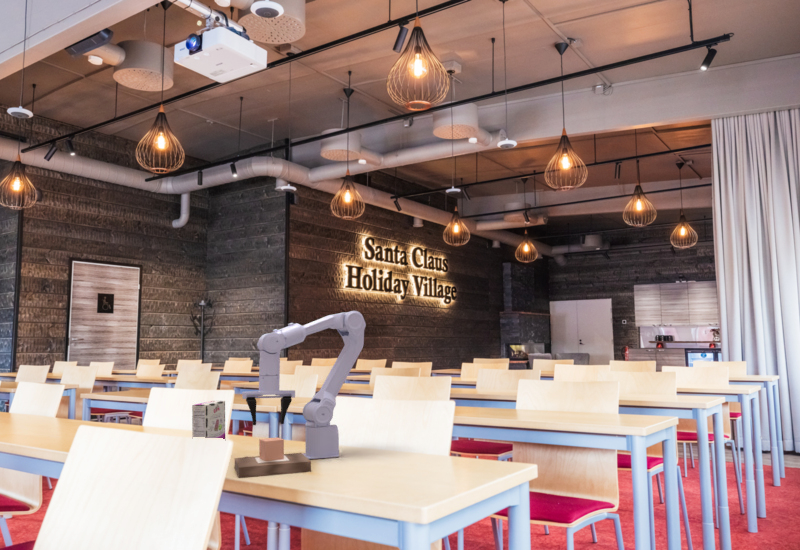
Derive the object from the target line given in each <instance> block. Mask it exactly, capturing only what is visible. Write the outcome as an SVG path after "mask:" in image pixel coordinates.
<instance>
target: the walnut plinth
mask: <svg viewBox="0 0 800 550" xmlns="http://www.w3.org/2000/svg"><path fill="white" fill-rule="evenodd" d="M234 470H235V473H236V474H237V477H238V479H241V478H252V477H262V476H273V475H275V476H276V475H284V474H285V475H286V474H293V473H294V474H296V473H306V472H307V473H308V472H311V471H312V461H311V459H308V458H307V457H305V456H304V455H303V452H293V453H284V459H280V460H272V461H264V460H262V459H260V458H259V455H256V456H246V457H235V458H234Z"/></svg>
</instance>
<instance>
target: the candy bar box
mask: <svg viewBox="0 0 800 550" xmlns="http://www.w3.org/2000/svg"><path fill="white" fill-rule="evenodd" d="M191 408H192V411H191V412H192V416H191V417H192V419H191V420H192V424H191V425H192V438H193V437H205V438H223V439H225V440H226V400H210V401H205V402H201V403H195V404H192V407H191Z"/></svg>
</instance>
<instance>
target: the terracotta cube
mask: <svg viewBox="0 0 800 550" xmlns="http://www.w3.org/2000/svg"><path fill="white" fill-rule="evenodd" d="M284 443H285V440H284V439H283V438H281V437H269V438H260V439H259V445H258V446H259V455H258V456H259V458H260V459H262V460H264V461H272V460H280V459H284V454H285V452H284V451H285V444H284Z"/></svg>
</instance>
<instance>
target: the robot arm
mask: <svg viewBox="0 0 800 550" xmlns="http://www.w3.org/2000/svg"><path fill="white" fill-rule="evenodd" d="M366 326H367V324H366V320H365V318H364V316H363V314H362V313H361V312H360V311H358V310H351V311H347V312H346V311H345V312H344V311H343V312H340V313H334V314H328V315H326V316H323V317H321V318H318V319H316V320H314V321H310V322H309V323H308V322H307V323H306V324H303V325H302V324H300V323H297V322H295V323H294V322H290V323H287V326H285V327H282V328H280V329H278V328H275V329H273V330H272V332H269V333H265V334H262V335H261V336H260V337H259V339H258V341H257V342H256V343H257V344H256V345H257V348H258V350H259V360H258V361H259V363H258V365H259V367H258V369H259V370H258V371H259V372H258V373H259V375H258V390H252V391H251V390H250V391H248V390H247V391H242V396H241V398H242V400H245V402H246V404H247V406H248V408H249V411H250V415H251V419H252V425H253V426H257V403H258V402H257V399H278V398H279V399H280V418H279V422H280V423H279V424H281V425H284V424H285V419H286V415H287V412H288V409H289V407H290V405H291V402H292V401H293V399H292V398H296V390H292V389H291V390H288V389H287V390H282V389H281V390H280V381H281V379H280V373H281V370H280V369H281V368H280V367H281V365H280V364H281V358H280V356H281V354H280V353H281V351H282V349H283V350H284V349H287V348H289V347H292V346H294V345H297V344H298V345H299V344H301V343H303V342H304V341H305V339H306V337H307V336H310V335H312V334H315V333H318V332H321V331H324V330H327V329H332V330H337V332H338V334H339V335H340V336H341V339H342V341H343V344H344V346H343V348H342V349H341V351H340V352H339V355H338V357H337V358H336V361H335V362H334V364H333V366H332V367H331V369H330V371H329V373H328V375H327V376H326V379H325V380H324V382H323V384H322V385H321V387H320V389H319V390H318V391H317V392H316V393H315V394H314V395H313V397H312V398H311V399H310V401H308V402H307V403H306V404H304V406H303V409H302V416H303V418H304V420H305V421H306V422H305V428H304V429H305V432H304V434H305V437H304V438H305V452H302V454H303V455H304V456H305V457H307V458H308V459H309V460H316V459H329V458H339V457H340V446H339V445H340V442H339V441H340V439H339V438H340V437H339V436H340V435H339V429H338V428H339V427H338V425H337V424H331V421H332V419H333V416H334V410H335V408H336V405H337V401H336V398H337V396H338V394H339V392H340V390H341V389H342V387H343V385H344V383H345V382H346V379H347V378H348V375H350V372H351V371H352V369H353V366H354V365H355V363H356V361H357V359H358V358H359V355H360V353H361V352H362V350H363V347H364V343H365V329H366Z"/></svg>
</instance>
